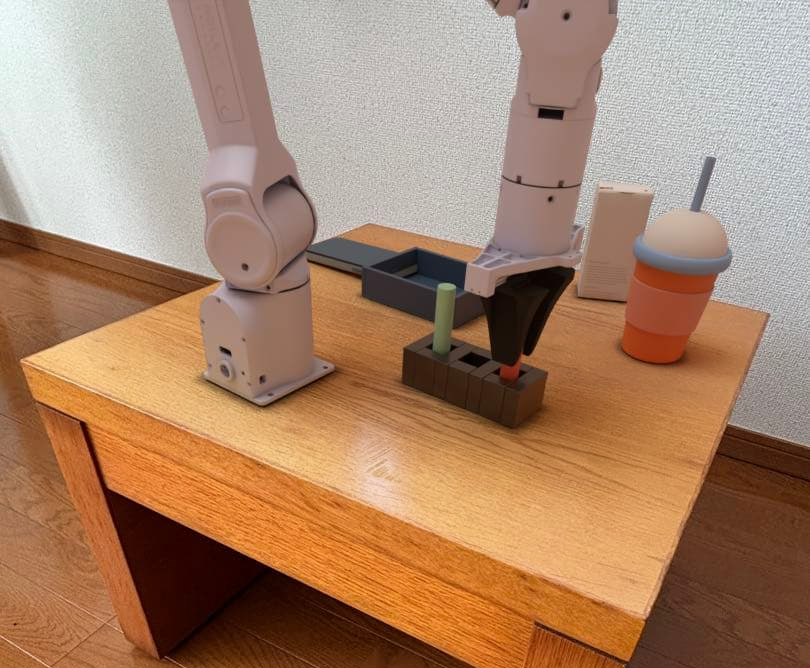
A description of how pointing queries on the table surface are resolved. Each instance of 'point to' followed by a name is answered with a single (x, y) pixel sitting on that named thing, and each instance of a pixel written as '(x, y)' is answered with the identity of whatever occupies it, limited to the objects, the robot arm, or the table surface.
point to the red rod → (511, 370)
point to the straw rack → (473, 380)
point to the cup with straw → (674, 278)
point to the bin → (420, 284)
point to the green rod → (444, 318)
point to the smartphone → (352, 256)
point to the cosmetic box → (613, 239)
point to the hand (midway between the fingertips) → (512, 357)
